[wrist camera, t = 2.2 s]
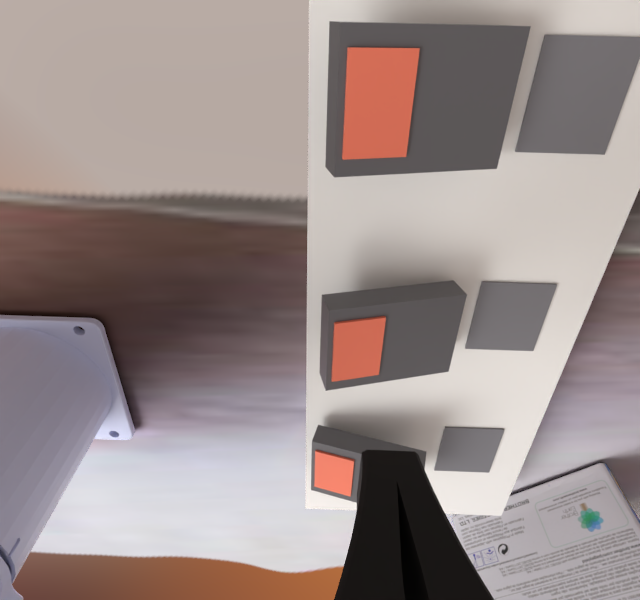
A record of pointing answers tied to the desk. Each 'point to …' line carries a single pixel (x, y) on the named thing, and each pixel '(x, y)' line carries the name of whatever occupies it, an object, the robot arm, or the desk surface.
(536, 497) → the ink cartridge box
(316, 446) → the rocker far end
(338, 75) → the block
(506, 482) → the power strip
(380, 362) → the rocker middle
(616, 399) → the desk surface
